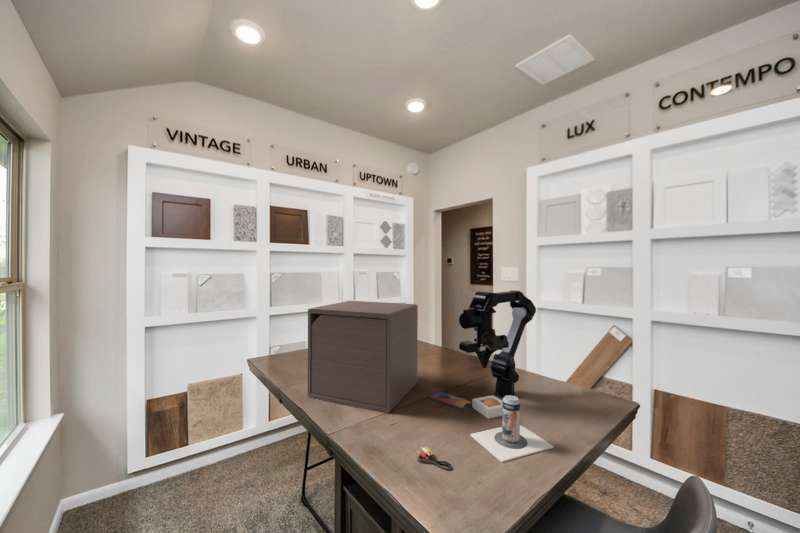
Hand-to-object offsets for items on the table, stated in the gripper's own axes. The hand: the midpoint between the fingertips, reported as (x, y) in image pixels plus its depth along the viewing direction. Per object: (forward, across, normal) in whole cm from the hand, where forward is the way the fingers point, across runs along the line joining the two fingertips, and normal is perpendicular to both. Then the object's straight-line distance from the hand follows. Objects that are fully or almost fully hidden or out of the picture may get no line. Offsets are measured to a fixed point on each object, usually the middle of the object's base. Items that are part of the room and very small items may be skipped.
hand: (484, 367), depth 118 cm
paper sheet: (+13, -10, -24) cm, 29 cm away
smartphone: (+13, -11, +6) cm, 18 cm away
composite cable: (+13, -36, -24) cm, 45 cm away
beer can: (+12, -10, -24) cm, 29 cm away
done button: (+12, -2, -6) cm, 13 cm away
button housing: (+13, -2, -6) cm, 15 cm away
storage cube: (+13, -37, +28) cm, 48 cm away
